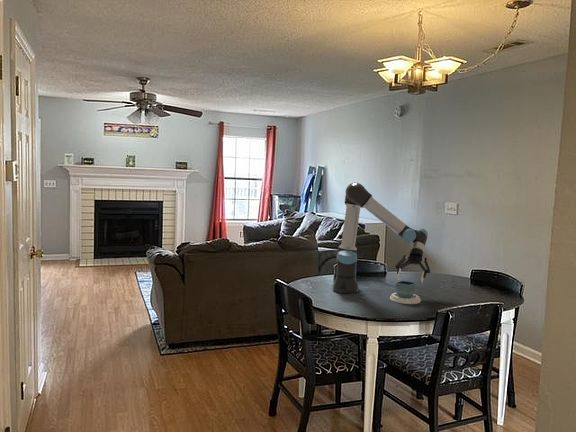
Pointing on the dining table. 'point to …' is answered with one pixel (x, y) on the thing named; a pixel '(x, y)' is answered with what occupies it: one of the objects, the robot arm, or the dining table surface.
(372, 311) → the dining table surface
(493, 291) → the dining table surface
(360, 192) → the robot arm
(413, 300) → the plant saucer
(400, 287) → the flower pot
